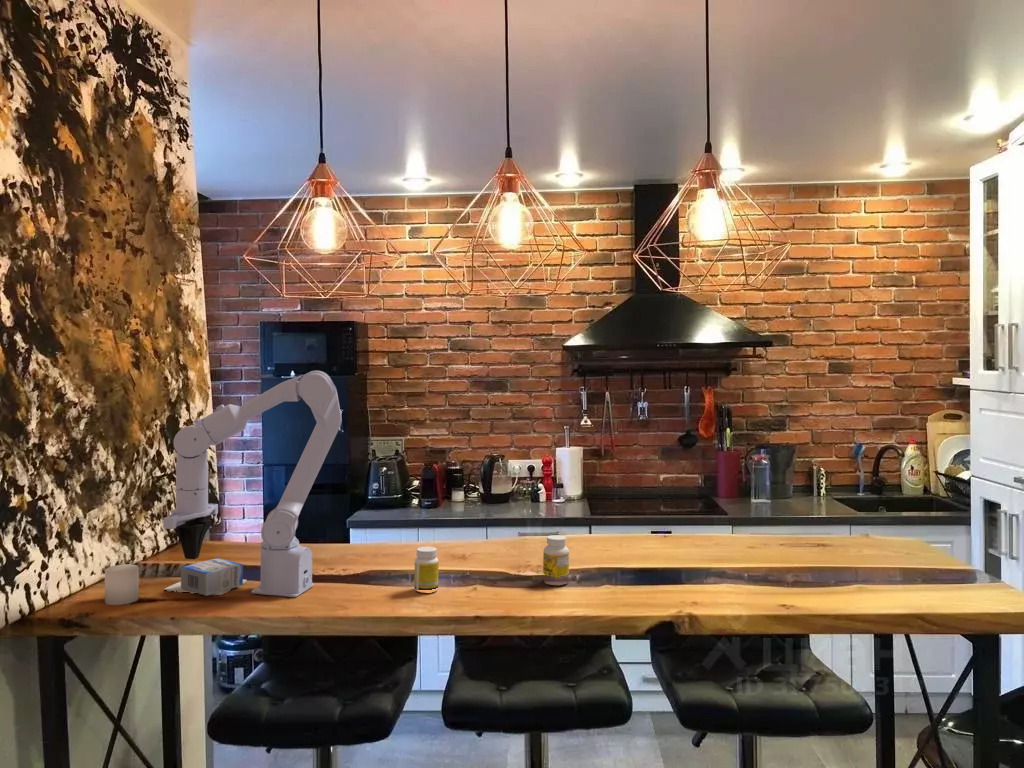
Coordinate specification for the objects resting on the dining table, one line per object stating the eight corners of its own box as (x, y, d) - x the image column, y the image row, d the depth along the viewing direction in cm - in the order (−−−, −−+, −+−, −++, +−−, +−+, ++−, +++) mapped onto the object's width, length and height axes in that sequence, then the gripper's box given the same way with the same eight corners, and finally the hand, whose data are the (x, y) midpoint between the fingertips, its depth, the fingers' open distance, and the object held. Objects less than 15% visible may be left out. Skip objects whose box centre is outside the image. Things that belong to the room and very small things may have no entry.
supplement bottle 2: (573, 584, 156) (574, 539, 156) (551, 588, 154) (552, 541, 154) (559, 577, 161) (560, 533, 161) (538, 580, 159) (539, 535, 158)
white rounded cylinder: (145, 596, 143) (145, 565, 143) (124, 606, 137) (124, 573, 137) (119, 594, 144) (119, 563, 144) (97, 603, 138) (97, 571, 138)
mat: (246, 581, 154) (246, 579, 154) (220, 595, 144) (220, 593, 144) (193, 577, 156) (193, 575, 156) (164, 590, 147) (164, 588, 147)
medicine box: (179, 566, 146) (217, 556, 154) (179, 589, 147) (217, 578, 154) (206, 573, 142) (243, 563, 150) (206, 597, 143) (243, 585, 150)
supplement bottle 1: (443, 590, 150) (443, 549, 150) (424, 595, 147) (425, 553, 147) (427, 585, 154) (428, 544, 153) (409, 590, 150) (410, 548, 150)
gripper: (195, 481, 152) (195, 547, 153) (148, 493, 138) (148, 566, 139) (227, 482, 151) (227, 549, 152) (183, 495, 137) (182, 569, 137)
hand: (191, 558), depth 145 cm, fingers closed
